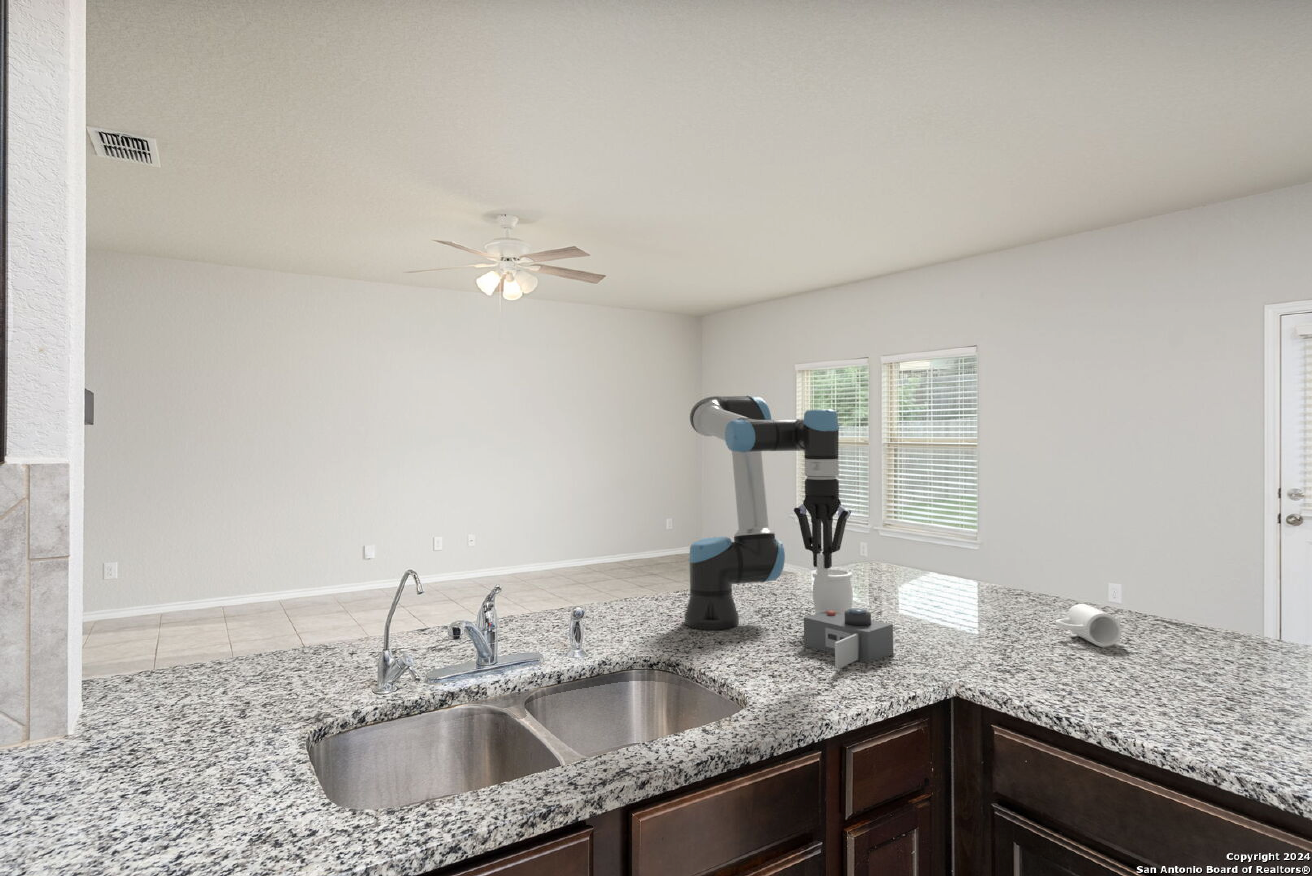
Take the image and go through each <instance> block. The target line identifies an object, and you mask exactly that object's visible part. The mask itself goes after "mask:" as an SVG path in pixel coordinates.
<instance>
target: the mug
mask: <svg viewBox="0 0 1312 876" xmlns="http://www.w3.org/2000/svg"><path fill="white" fill-rule="evenodd" d="M1055 626H1056V627H1058V628H1060V629H1062V630H1067V631H1068V630H1069V631H1070V632H1071V633H1073V634H1074V635H1076V636H1078V637H1080V638H1081V639H1084V640H1086V641H1087V642H1089V643H1091V644H1093V645H1095V646H1097V647H1102V648H1109V647H1112V646H1113V645H1115V644H1117V643H1118V641H1120V639H1121V637H1122V632H1123V631H1122V626H1121V623H1120V622H1119V620H1118V619H1117V618H1116V617H1115V616H1113V615H1112V614H1109V613H1107V612H1106V611H1102V610H1100V609H1099V608H1096V607H1093V606H1091V605H1089V604H1084V603H1080V604H1079V603H1078V604H1076V605H1073V606H1071V608H1069V609H1068V610H1067V611H1066V614H1065V617H1064V618H1059V619H1056V620H1055Z"/></svg>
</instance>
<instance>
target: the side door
mask: <svg viewBox="0 0 1312 876" xmlns="http://www.w3.org/2000/svg"><path fill="white" fill-rule="evenodd" d="M834 659H835V660H834V661H835V662H834V663H835V664H834V665H835V668H834V669H836V670H839V669H841V668H844V667H845V666H848V665H850V664H851V663H853V662H856V661H857V660H858V659H859V634H858V633H855V634H854V635H851V636H849V637H847V638H844V639H842V640H840V641H837V642H835V654H834Z"/></svg>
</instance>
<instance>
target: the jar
mask: <svg viewBox="0 0 1312 876" xmlns="http://www.w3.org/2000/svg"><path fill="white" fill-rule="evenodd" d="M811 574H812V576H813V578H814V579H813V585H812V601H813V606H814V612H815V613H814V614H818V613H822V612H826V611H835V612H837V613H842V614H844V612H845V611H847V610H849V609H852V608H853V602H854V601H853V599H854V597H853V596H854V595H853V593H854V592H853V586H852V582H851V578H852V577H853V573H852V572H851V571H848V570H844V569H843V570H842V569H836V568H835V569H834V568H833V569H831V568H829V569H828V582H826V583H824V584H823V583H817V569H816V570H814V571H812V573H811Z"/></svg>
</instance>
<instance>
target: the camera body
mask: <svg viewBox="0 0 1312 876" xmlns="http://www.w3.org/2000/svg"><path fill="white" fill-rule="evenodd" d="M855 633H858V634H859V659H858V660H856V661H858V662H861V663H865V664H872V663H874V662H877V661H880V660H882V659H884V658H887V657H890V656H893V655H894V624H893V623H889V622H884V621H881V620H875V619H872V613H871V612H870V611H868V610H867V609H865V608H860V607H859V608H857V607H856V608H854V607H852V608H851V609H849V610H847V611H845V612H844V614H842V613H837V612H835V611H826V612H822V613H818V614H816V613H814V614H811V615H807V616H804V617H803V646H804V647H807V648H809V649H813V650H817V651H821V652H825V653H829V654H833V655H835V642H837V641H840V640H842V639H844V638H847V637H849V636H851V635H854V634H855Z"/></svg>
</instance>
